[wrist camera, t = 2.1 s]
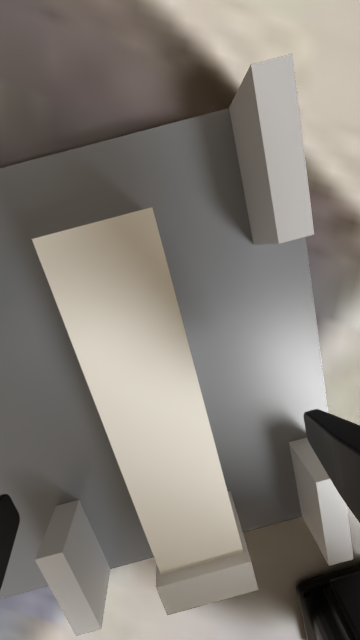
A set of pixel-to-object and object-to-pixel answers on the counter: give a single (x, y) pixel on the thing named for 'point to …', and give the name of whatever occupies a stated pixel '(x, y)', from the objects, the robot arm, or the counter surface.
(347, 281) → the counter surface
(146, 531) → the long cream plank
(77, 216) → the board
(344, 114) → the counter surface
